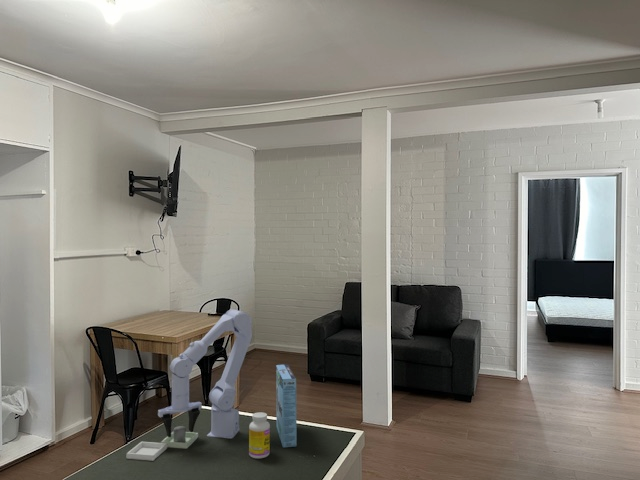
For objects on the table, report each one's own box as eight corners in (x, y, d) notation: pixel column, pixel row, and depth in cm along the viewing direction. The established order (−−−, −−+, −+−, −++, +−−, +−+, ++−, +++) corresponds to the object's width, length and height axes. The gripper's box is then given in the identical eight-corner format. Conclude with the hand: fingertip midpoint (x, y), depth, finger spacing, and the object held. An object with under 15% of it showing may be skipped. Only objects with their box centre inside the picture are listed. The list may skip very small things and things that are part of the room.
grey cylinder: (187, 439, 163) (187, 426, 164) (182, 444, 160) (182, 431, 160) (176, 439, 164) (176, 425, 164) (171, 443, 160) (171, 430, 160)
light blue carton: (296, 447, 160) (297, 378, 160) (281, 448, 159) (282, 379, 159) (288, 425, 179) (289, 363, 179) (275, 426, 178) (275, 364, 178)
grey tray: (166, 449, 157) (166, 443, 157) (153, 461, 148) (153, 455, 148) (141, 447, 158) (141, 441, 158) (126, 459, 149) (126, 453, 149)
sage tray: (197, 438, 166) (198, 432, 166) (186, 449, 157) (186, 443, 157) (173, 436, 167) (173, 431, 167) (161, 447, 158) (161, 441, 158)
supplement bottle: (265, 460, 150) (266, 419, 150) (245, 458, 151) (246, 417, 151) (272, 451, 156) (272, 412, 156) (253, 449, 157) (253, 410, 158)
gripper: (162, 400, 155) (162, 442, 154) (205, 392, 163) (205, 432, 163) (156, 395, 160) (155, 435, 160) (197, 387, 169) (197, 425, 169)
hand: (180, 433), depth 162 cm, fingers open, 7 cm apart
